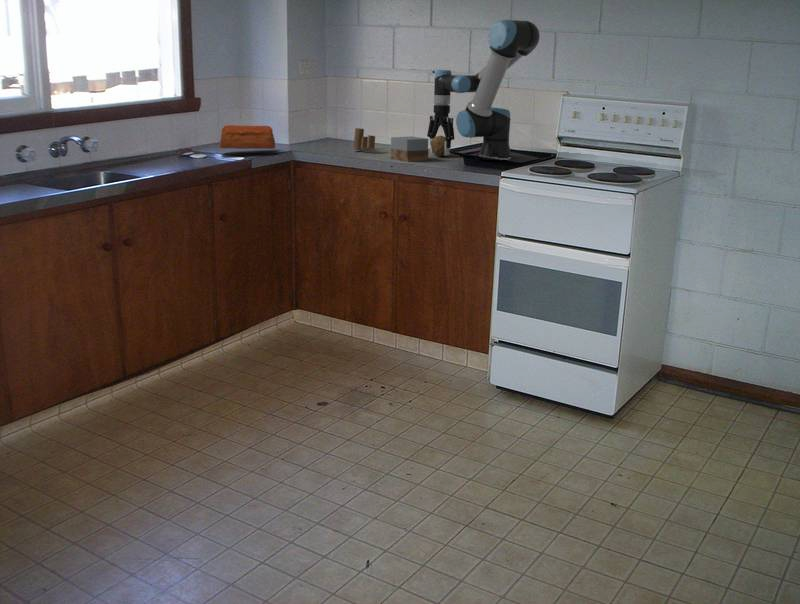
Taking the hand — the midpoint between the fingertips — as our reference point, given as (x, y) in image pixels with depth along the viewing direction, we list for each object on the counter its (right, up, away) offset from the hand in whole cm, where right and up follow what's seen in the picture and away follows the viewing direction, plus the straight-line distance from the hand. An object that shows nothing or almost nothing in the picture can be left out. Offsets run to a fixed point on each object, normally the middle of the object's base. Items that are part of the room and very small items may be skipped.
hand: (440, 153), depth 410 cm
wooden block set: (-37, +5, +20) cm, 42 cm away
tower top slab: (-14, 0, -13) cm, 19 cm away
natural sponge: (0, -2, 0) cm, 2 cm away
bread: (-93, +6, +21) cm, 96 cm away
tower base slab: (-14, -5, -11) cm, 19 cm away
